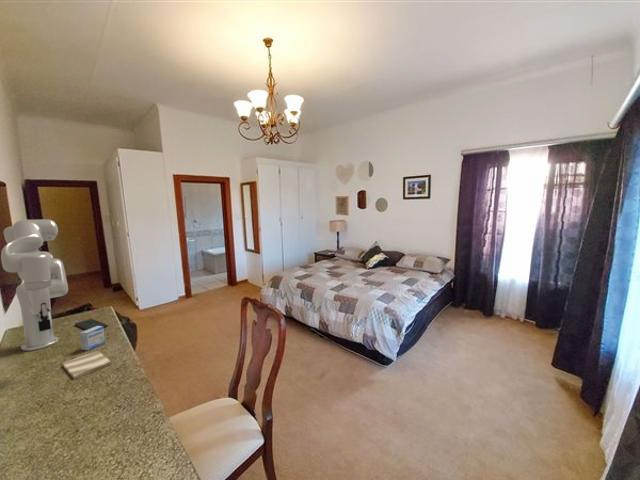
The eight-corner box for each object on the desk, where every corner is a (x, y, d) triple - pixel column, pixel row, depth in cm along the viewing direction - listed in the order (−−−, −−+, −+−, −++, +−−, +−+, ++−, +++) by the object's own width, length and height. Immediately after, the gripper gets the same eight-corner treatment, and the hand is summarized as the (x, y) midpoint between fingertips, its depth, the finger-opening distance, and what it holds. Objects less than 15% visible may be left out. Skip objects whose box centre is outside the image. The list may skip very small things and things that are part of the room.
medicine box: (88, 351, 124) (86, 333, 123) (80, 350, 125) (79, 332, 124) (105, 342, 132) (103, 326, 131) (97, 342, 133) (96, 325, 132)
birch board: (62, 365, 112) (62, 363, 112) (98, 353, 122) (97, 350, 122) (74, 378, 103) (73, 376, 103) (111, 364, 113) (111, 361, 113)
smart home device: (91, 318, 160) (108, 324, 150) (92, 321, 160) (108, 327, 151) (73, 323, 153) (90, 330, 143) (74, 326, 153) (90, 333, 143)
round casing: (34, 330, 109) (32, 311, 108) (50, 326, 112) (48, 308, 111) (37, 333, 106) (34, 314, 105) (53, 329, 110) (50, 310, 109)
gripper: (20, 283, 109) (26, 326, 111) (28, 290, 99) (34, 337, 101) (46, 279, 115) (51, 320, 117) (56, 285, 105) (61, 330, 107)
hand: (43, 327), depth 109 cm, fingers closed on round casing, 4 cm apart
